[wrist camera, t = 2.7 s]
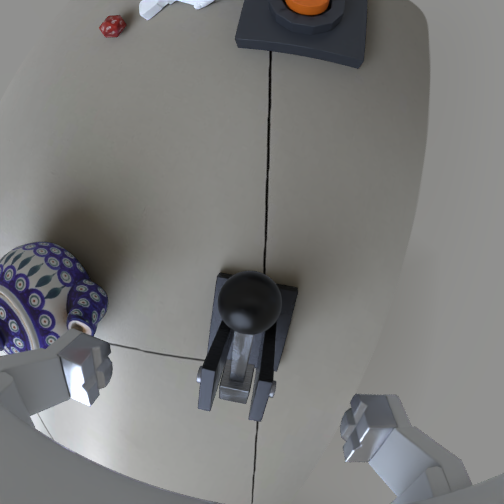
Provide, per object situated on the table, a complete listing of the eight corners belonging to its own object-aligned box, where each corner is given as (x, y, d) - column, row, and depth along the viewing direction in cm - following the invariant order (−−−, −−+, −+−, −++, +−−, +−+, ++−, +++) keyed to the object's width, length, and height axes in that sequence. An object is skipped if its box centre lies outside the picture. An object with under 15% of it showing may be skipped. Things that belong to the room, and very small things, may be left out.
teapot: (32, 331, 36) (-25, 375, 21) (7, 242, 32) (-64, 270, 18) (160, 346, 33) (103, 431, 18) (134, 222, 29) (35, 261, 15)
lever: (227, 252, 15) (210, 299, 12) (289, 264, 14) (284, 314, 12) (220, 368, 23) (211, 401, 21) (257, 376, 23) (251, 409, 20)
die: (104, 33, 24) (92, 25, 21) (124, 17, 23) (112, 7, 20) (113, 45, 24) (100, 37, 21) (133, 28, 23) (121, 18, 20)
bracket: (219, 272, 29) (182, 329, 18) (297, 287, 29) (304, 354, 18) (209, 351, 32) (178, 424, 21) (277, 365, 32) (272, 444, 20)
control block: (363, -1, 20) (371, -19, 16) (358, 68, 23) (369, 54, 19) (254, -20, 21) (250, -40, 17) (238, 47, 23) (231, 30, 20)
